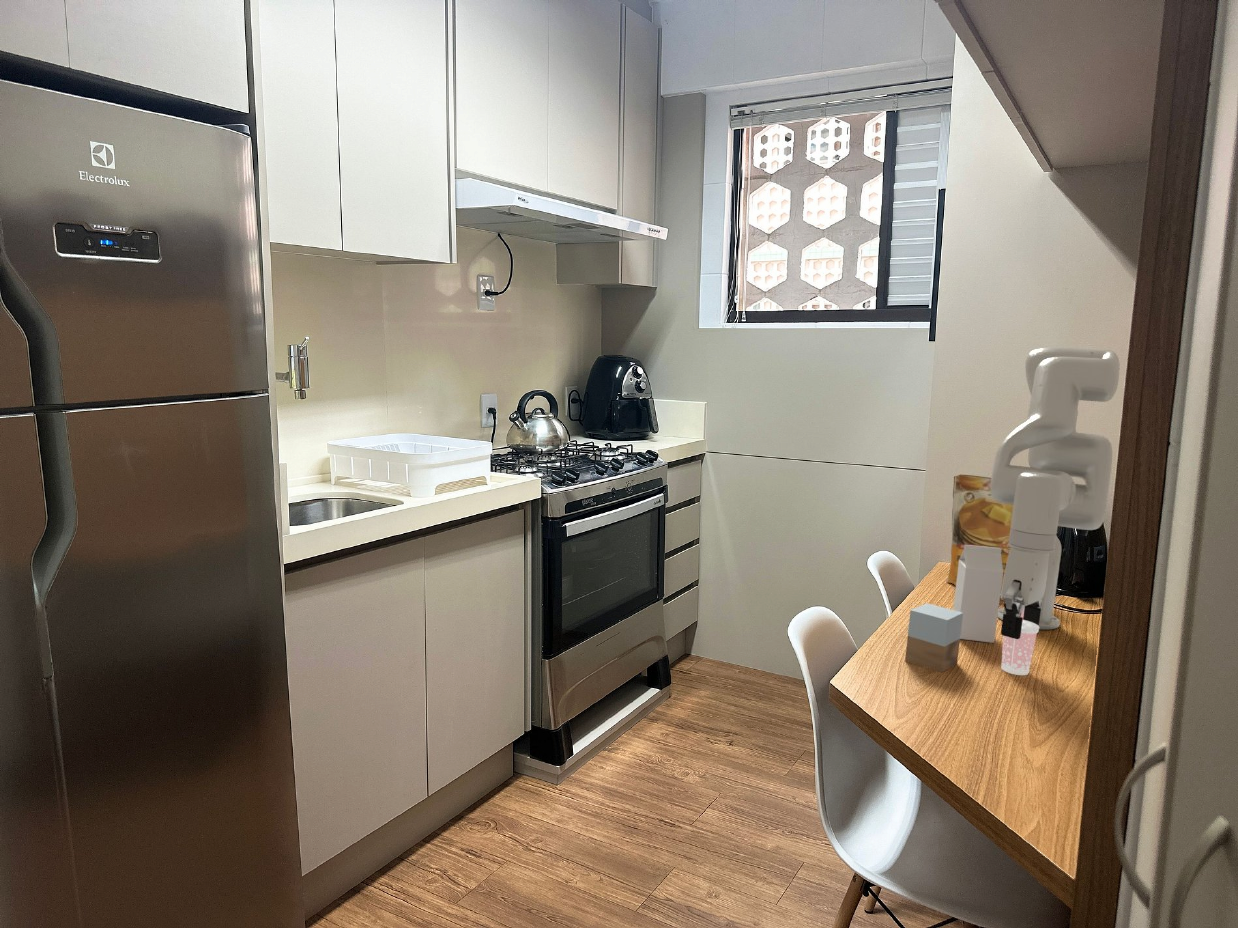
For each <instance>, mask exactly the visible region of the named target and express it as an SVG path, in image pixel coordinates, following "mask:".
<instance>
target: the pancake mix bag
mask: <svg viewBox="0 0 1238 928" xmlns="http://www.w3.org/2000/svg"><path fill="white" fill-rule="evenodd" d="M990 485H991V477H988V476H980V475H969V474H957V475H955V476H953V489H952V490H953V491H952V499H953V501H952V510H951V511H952V512H951V513H952V514H951V533H952V536H951V549H950V555H951V556H950V566H949V571H948V576H947V578H946V581H945V582H946V583H948V582H949V583H948V584H951V583H952V585H953V584H954V585H953V586H955V587H956V582H957V573H958V565H959V559H960V557H961V555H962V553H963V551H964V545H973V546H983V547H994V548H1001V558H1002V565H1003V577H1002V584H1003V578H1004V573H1005V568H1006V563H1007V559H1008V555H1009V552H1010V549H1011V547H1009V546H1008V543H1009V536H1010V528H1011V520H1012V513H1013V505H1009V504H1003V503H1000V502H997V501H996V500H995V499H994V498H993V497H992V495H991V490H990ZM1001 589H1002V585H1001ZM1000 594H1001V593H1000Z"/></svg>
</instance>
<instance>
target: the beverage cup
mask: <svg viewBox="0 0 1238 928" xmlns="http://www.w3.org/2000/svg"><path fill="white" fill-rule="evenodd" d="M1024 608H1025V607H1024ZM1023 616H1024V609H1023V612H1022V615H1021V617H1023ZM1039 631H1040V629H1039V626H1038V625H1037V624H1035V623H1033V622H1030V621H1026V620H1023V621H1022V628H1021V636H1020V638H1019V639H1014V638H1010V637H1007V636H1003V635H1002V649H1001V650H1002V652H1001V653H1002V654H1001V666H1000V667H1001V670H1002V671H1004V672H1006V673H1008V674H1012V675H1018V676H1026V675H1029V672H1030V667H1031V663H1032V658H1033V652H1034V648H1035V643H1036V640H1037V633H1039Z"/></svg>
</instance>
